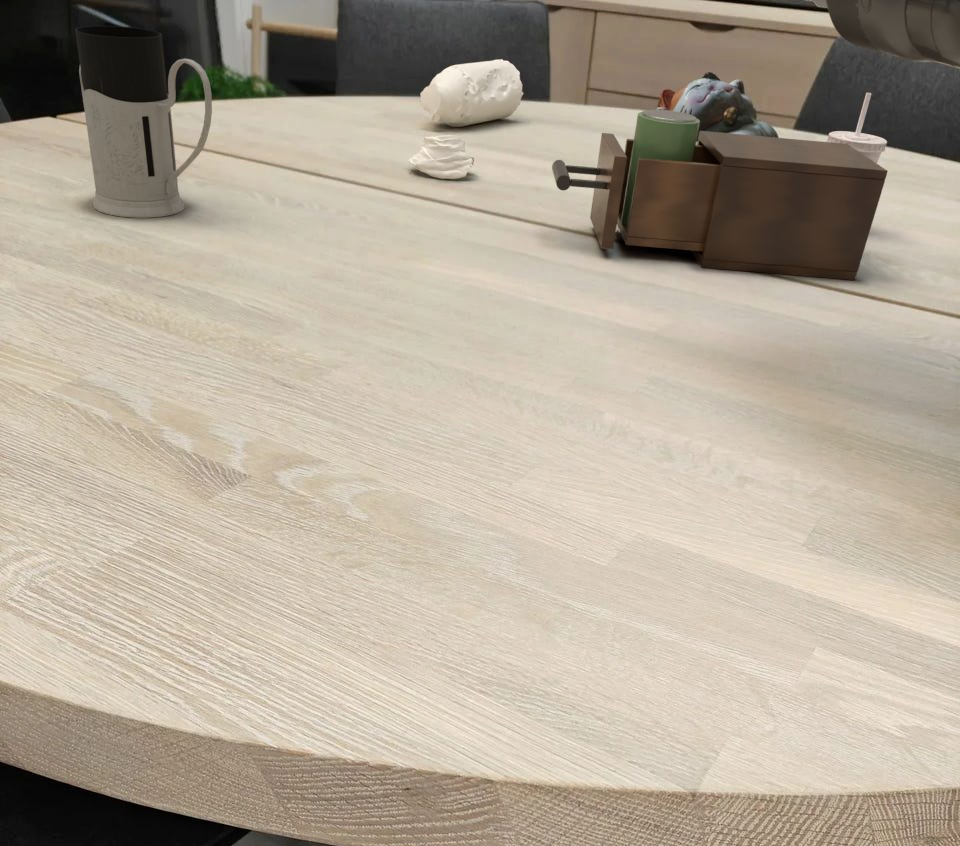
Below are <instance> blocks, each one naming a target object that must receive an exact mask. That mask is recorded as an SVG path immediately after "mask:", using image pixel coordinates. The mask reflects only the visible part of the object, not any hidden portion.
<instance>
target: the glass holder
mask: <svg viewBox="0 0 960 846" xmlns="http://www.w3.org/2000/svg"><path fill="white" fill-rule="evenodd" d="M74 30H75V38H76V44H77V46H76V47H77V52H78V60H79V69H78V74H79V81H80V87H81V95H82V102H83V109H84V117H85V122H86V123H85V124H86V130H87V131H86V132H87V138H88V144H89V152H90V158H91V167H92V173H93V180H94V188H95V192H94V194H95V196H94V199H93V202H92V207H93V209H95V210H96V211H98V212H100V213H103V214H106V215H109V216H110V215H111V216H114V217H121V218H137V219H139V218H141V219H142V218H144V219H145V218H146V219H147V218H161V217H167V216H172V215H176V214H178V213H180V212H182V211H183V210H184V209H185V204H184V201H183V200H182V198H181V195H180V192H179V185H178V183H179V182H178V178H179V176H180V175H181V174H182V173H183V172H184V171H186V170H187V169H188V168H189V166H191V164H192V163H193V162H194V161H195V159H196V158H198V156H199V155H200V154H201V152H203V150H204V147H205V144H206V142H207V140H208V137H209V132H210V129H211V123H212V116H213V115H212V114H213V100H212V99H213V98H212V97H213V95H212V89H211V81H210V80H209V77H208V75H207V73H206V71H205V69H204V68H203V67H202V65H201V64H199V63H198V62H197V61H195V60H193V59H190V58H181V59H178V60H176V61H175V62H174V63H173V64H172V65H171V66H170V69H169V73H168V77H167V76H166V65H165V57H164V55H165V54H164V44H163V35H162V33H161V32H159V31H156V30H151V29H146V28H140V27H132V26H131V27H130V26H119V25H118V26H117V25H88V26H87V25H85V26H79V27H76V28H75V29H74ZM183 64H187V65H189V66H191V67H192V68H193V69H194V70H195V71H196V72H197V73H198V75H199V78H200V80H201V82H202V86H203V92H204V119H203V126H202V130H201V132H200V137H199V140H198V142H197V144H196V147H195V149H194V150H193V152H192V153H191V154H190V155H189V157H188V158H187V159H186V160H185V161H184V162H183V163H182V164H181V165H180V166H178V168H177V163H176V161H177V160H176V154H175V153H176V152H175V151H176V149H175V141H174V131H173V120H172V107H174V105H175V104H176V99H177V98H176V97H177V96H176V95H177V94H176V91H177V90H176V78H177V73H178V70H179V68H180V67H181V66H182V65H183Z"/></svg>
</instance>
